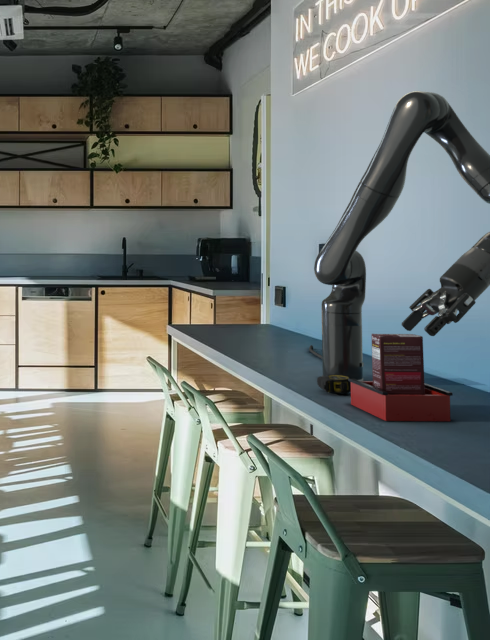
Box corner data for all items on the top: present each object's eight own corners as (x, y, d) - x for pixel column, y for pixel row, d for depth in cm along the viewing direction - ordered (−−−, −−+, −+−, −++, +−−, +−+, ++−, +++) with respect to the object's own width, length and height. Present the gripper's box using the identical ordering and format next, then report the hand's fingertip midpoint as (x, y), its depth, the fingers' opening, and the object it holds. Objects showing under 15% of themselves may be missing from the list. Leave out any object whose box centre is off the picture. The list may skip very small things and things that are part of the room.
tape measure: (316, 389, 172) (316, 373, 173) (347, 390, 171) (346, 374, 171) (323, 395, 166) (323, 379, 166) (356, 396, 165) (355, 380, 165)
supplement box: (414, 410, 151) (413, 333, 152) (426, 415, 147) (424, 336, 147) (371, 409, 152) (370, 332, 153) (381, 414, 147) (380, 335, 148)
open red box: (348, 404, 157) (348, 378, 157) (412, 404, 157) (411, 378, 157) (383, 421, 142) (382, 392, 142) (453, 421, 142) (452, 392, 142)
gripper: (437, 261, 158) (385, 314, 157) (480, 262, 143) (422, 321, 143) (462, 285, 157) (410, 339, 157) (507, 290, 143) (450, 348, 143)
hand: (416, 330), depth 150 cm, fingers open, 8 cm apart
